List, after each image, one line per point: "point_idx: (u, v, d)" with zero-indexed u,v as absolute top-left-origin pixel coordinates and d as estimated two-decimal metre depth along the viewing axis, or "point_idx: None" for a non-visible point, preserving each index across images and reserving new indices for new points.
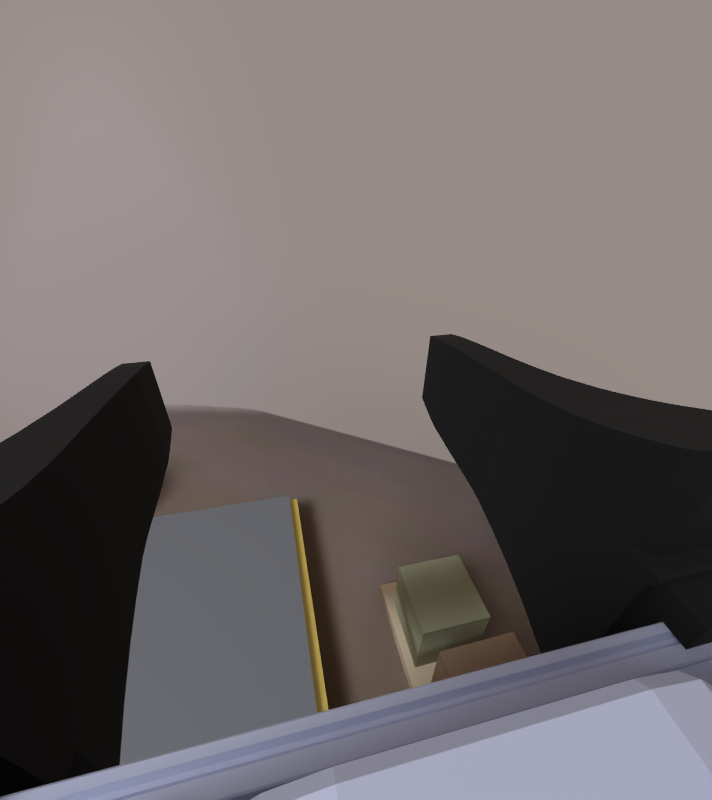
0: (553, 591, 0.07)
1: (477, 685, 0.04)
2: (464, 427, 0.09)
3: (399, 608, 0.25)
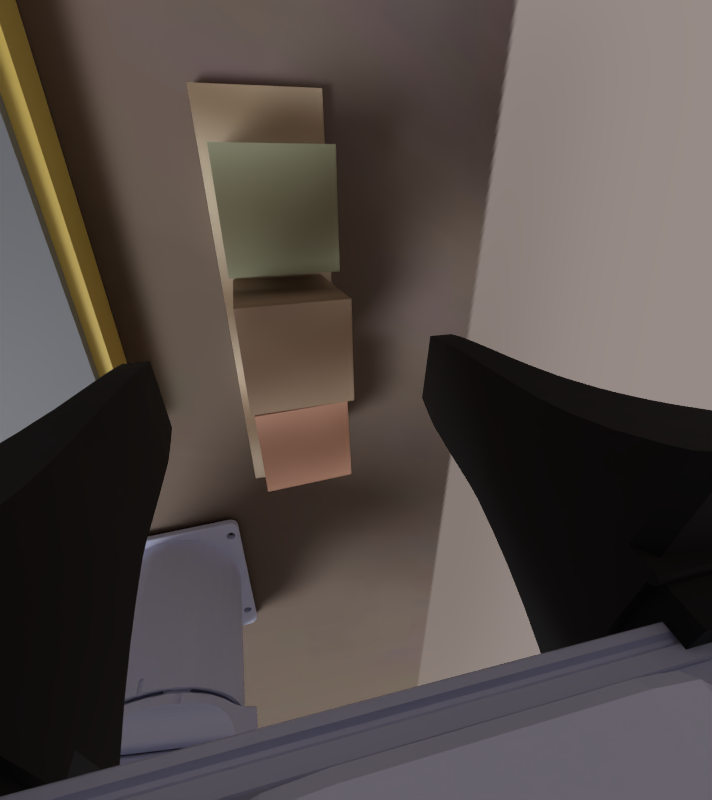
0: (553, 591, 0.07)
1: (477, 685, 0.04)
2: (464, 427, 0.09)
3: None
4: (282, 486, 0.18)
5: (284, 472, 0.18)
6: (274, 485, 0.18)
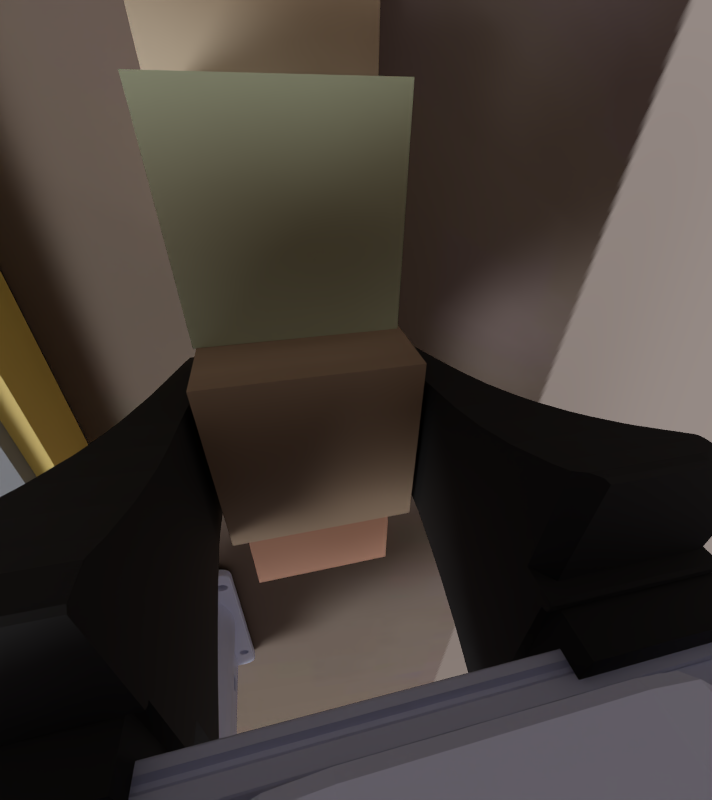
0: (474, 609, 0.07)
1: (477, 685, 0.04)
2: None
3: None
4: (281, 575, 0.12)
5: (283, 560, 0.12)
6: (269, 575, 0.12)
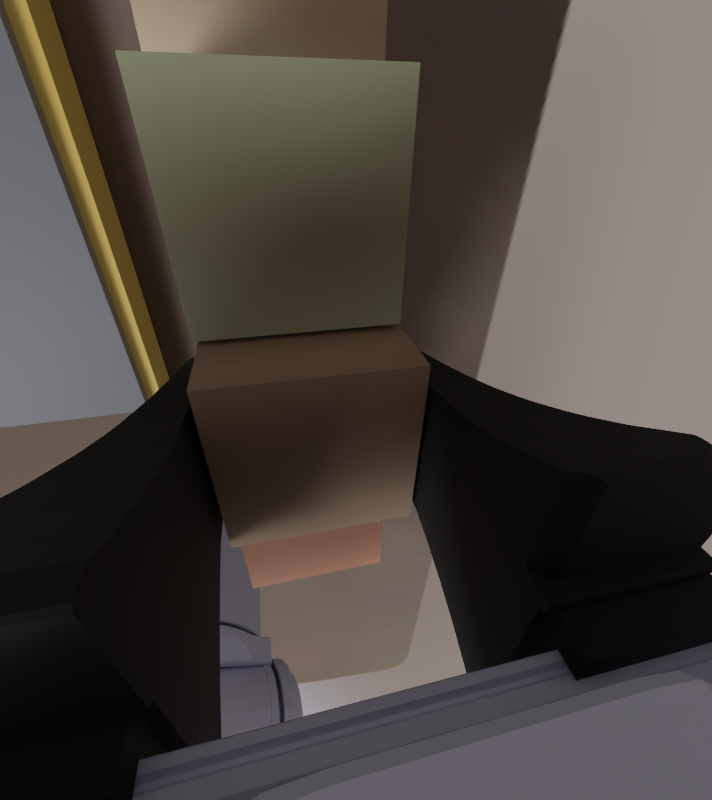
0: (472, 610, 0.07)
1: (477, 685, 0.04)
2: None
3: None
4: (275, 581, 0.12)
5: (277, 566, 0.12)
6: (262, 581, 0.12)
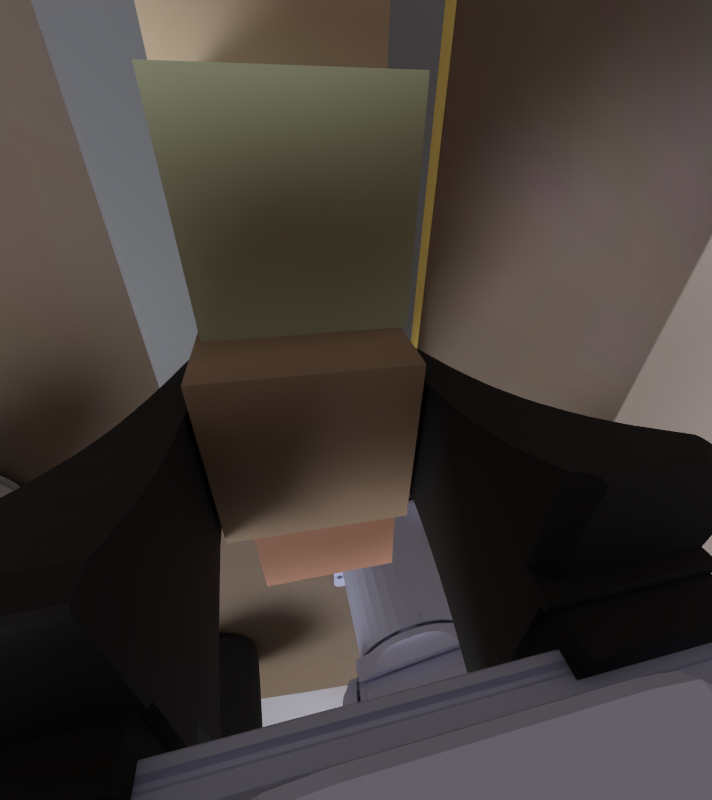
0: (473, 609, 0.07)
1: (477, 685, 0.04)
2: None
3: None
4: (288, 580, 0.12)
5: (291, 565, 0.12)
6: (276, 579, 0.12)
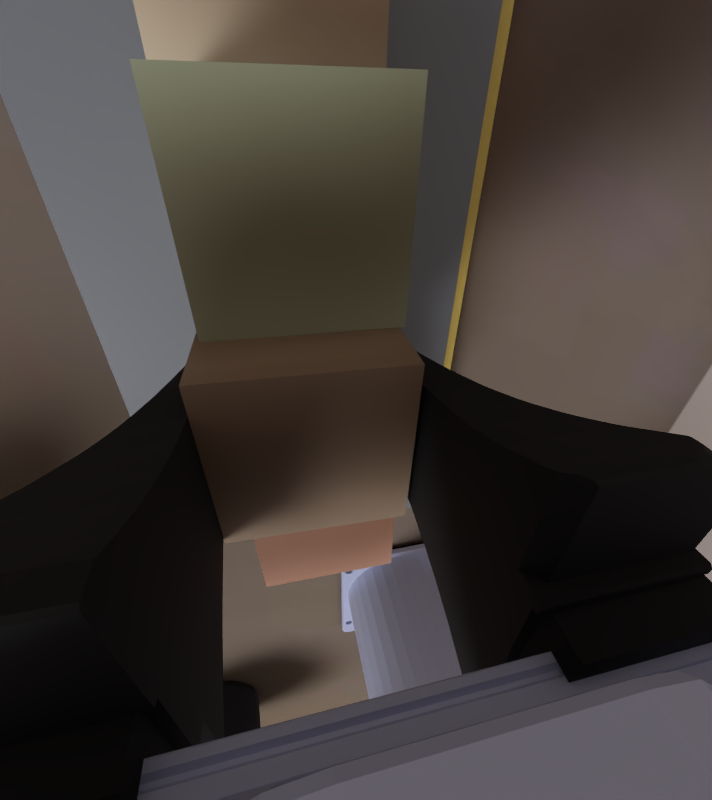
0: (467, 611, 0.07)
1: (477, 685, 0.04)
2: None
3: None
4: (287, 580, 0.12)
5: (290, 565, 0.12)
6: (275, 579, 0.12)
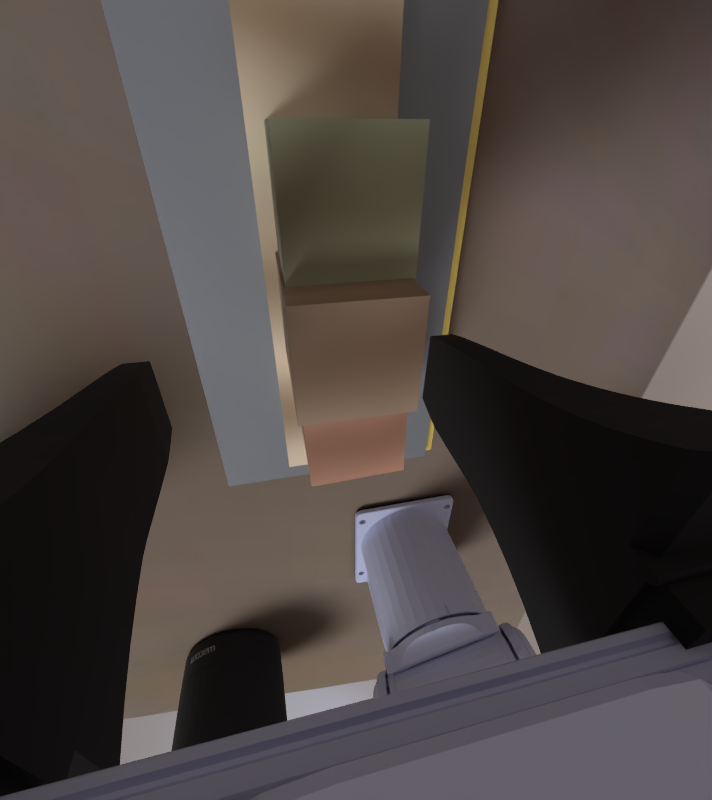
0: (553, 591, 0.07)
1: (477, 685, 0.04)
2: (464, 427, 0.09)
3: (268, 156, 0.12)
4: (327, 481, 0.16)
5: (330, 468, 0.16)
6: (318, 480, 0.16)
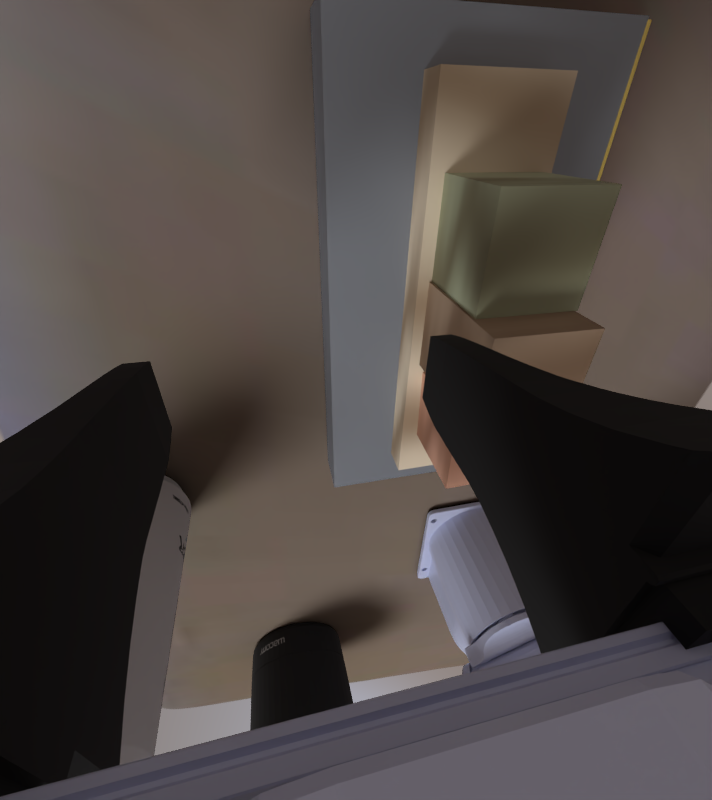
0: (553, 591, 0.07)
1: (477, 685, 0.04)
2: (464, 427, 0.09)
3: (451, 204, 0.14)
4: (459, 484, 0.18)
5: None
6: (453, 483, 0.18)
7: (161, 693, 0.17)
